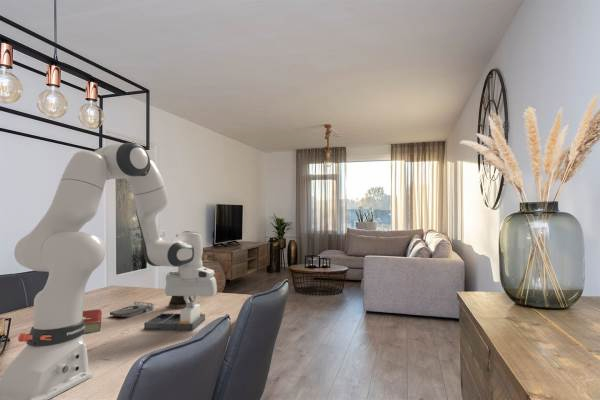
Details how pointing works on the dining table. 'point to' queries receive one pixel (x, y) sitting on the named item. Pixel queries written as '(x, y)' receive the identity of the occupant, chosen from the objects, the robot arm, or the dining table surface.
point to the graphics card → (133, 309)
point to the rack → (172, 322)
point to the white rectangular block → (190, 313)
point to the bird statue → (178, 298)
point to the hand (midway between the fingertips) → (190, 307)
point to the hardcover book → (92, 320)
